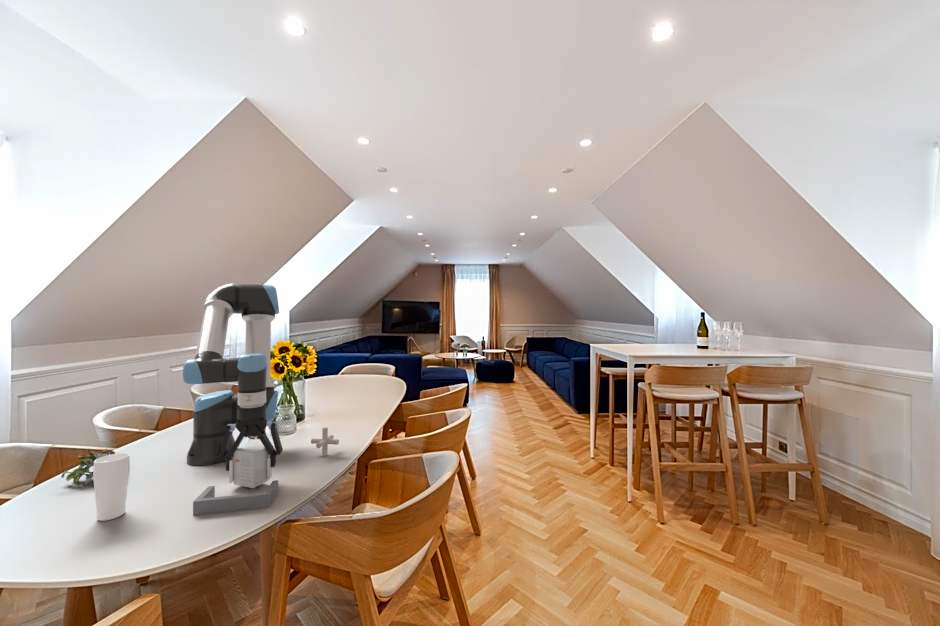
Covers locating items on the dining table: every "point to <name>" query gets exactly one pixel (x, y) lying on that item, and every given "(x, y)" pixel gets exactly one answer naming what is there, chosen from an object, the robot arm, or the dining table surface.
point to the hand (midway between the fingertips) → (251, 479)
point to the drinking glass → (111, 485)
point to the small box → (250, 466)
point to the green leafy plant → (89, 463)
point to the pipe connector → (324, 441)
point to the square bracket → (233, 501)
